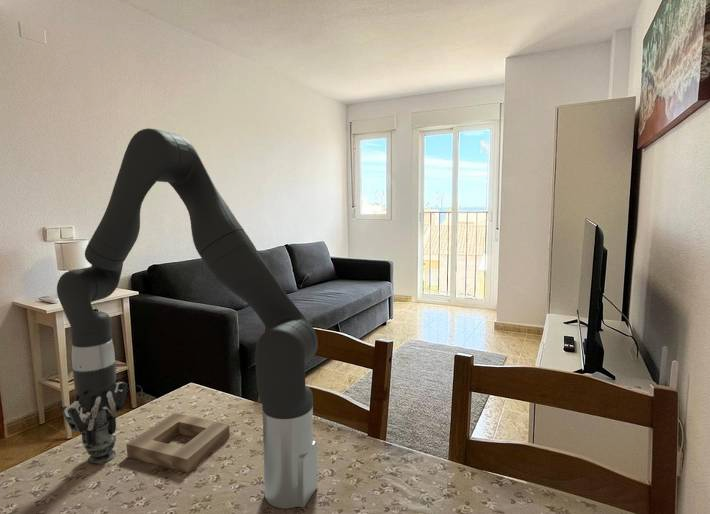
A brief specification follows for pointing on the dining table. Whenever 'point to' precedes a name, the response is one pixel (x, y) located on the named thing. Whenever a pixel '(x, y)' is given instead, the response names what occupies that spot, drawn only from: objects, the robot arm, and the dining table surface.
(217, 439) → the tan picture frame
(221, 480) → the dining table surface
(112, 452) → the grey tall tiered piece
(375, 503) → the dining table surface
